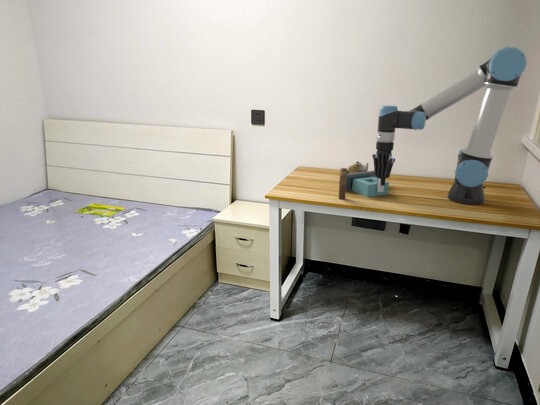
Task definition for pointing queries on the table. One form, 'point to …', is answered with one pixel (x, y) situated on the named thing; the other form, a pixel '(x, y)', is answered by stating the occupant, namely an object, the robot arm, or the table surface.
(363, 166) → the ceramic sculpture
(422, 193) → the table surface
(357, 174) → the backstop
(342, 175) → the dowel
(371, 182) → the block
